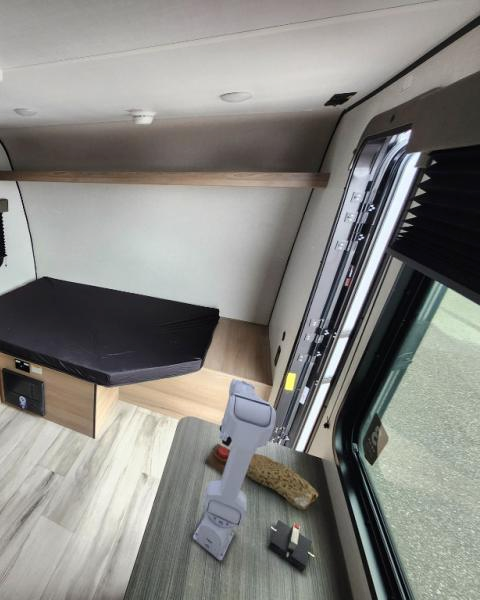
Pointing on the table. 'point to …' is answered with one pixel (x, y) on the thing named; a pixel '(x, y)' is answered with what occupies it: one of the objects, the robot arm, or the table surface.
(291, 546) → the tap handle
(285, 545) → the panel
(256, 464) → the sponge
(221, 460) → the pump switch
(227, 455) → the pump button
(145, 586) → the table surface
